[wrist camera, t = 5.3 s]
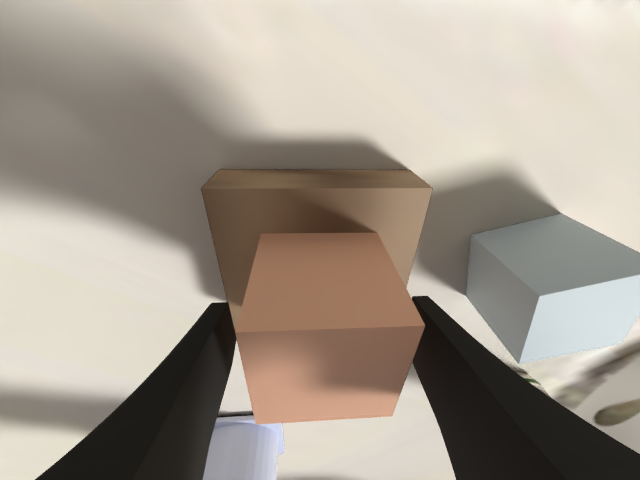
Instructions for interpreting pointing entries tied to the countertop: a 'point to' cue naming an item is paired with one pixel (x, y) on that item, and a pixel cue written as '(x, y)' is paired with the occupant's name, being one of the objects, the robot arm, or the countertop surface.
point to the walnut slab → (310, 214)
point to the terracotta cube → (325, 328)
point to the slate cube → (553, 287)
